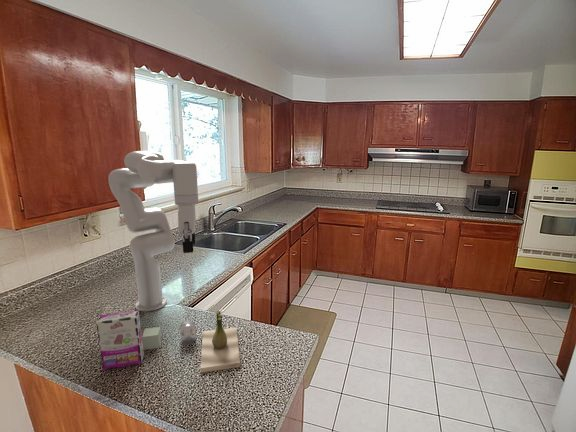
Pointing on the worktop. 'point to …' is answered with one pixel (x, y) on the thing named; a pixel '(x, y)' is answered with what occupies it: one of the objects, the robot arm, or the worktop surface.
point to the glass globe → (187, 332)
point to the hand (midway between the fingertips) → (189, 247)
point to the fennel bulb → (219, 334)
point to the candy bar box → (120, 339)
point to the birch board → (219, 352)
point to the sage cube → (151, 338)
